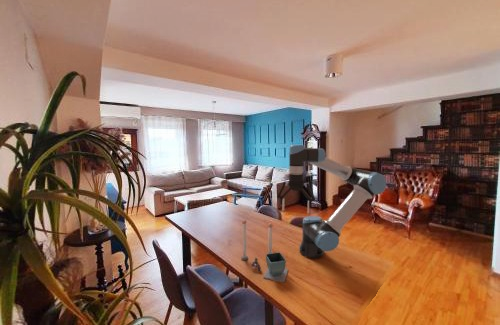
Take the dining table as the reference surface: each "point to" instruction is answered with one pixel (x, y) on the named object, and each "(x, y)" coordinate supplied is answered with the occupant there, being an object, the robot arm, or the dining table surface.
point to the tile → (276, 278)
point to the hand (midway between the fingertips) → (295, 211)
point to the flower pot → (275, 263)
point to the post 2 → (270, 239)
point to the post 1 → (244, 241)
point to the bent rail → (256, 265)
